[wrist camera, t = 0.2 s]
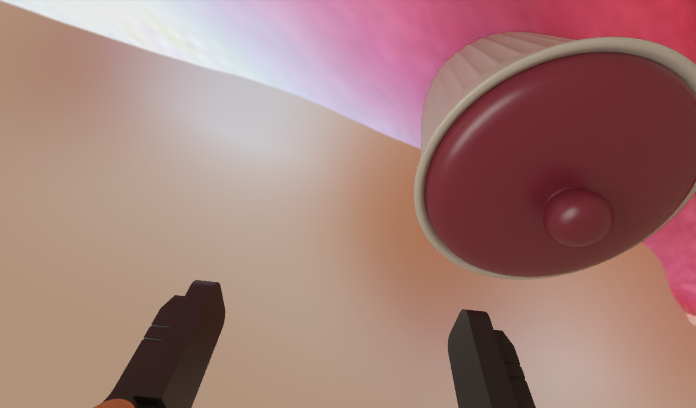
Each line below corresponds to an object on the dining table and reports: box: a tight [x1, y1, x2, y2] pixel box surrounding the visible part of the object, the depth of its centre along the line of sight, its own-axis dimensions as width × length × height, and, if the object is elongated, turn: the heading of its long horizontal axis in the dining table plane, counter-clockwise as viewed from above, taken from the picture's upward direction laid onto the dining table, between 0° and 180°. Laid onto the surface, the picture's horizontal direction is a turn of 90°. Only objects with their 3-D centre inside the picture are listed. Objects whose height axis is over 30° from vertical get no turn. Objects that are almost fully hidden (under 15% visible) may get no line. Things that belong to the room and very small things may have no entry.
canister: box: [414, 32, 696, 279], centre depth 28 cm, size 18×18×21 cm
